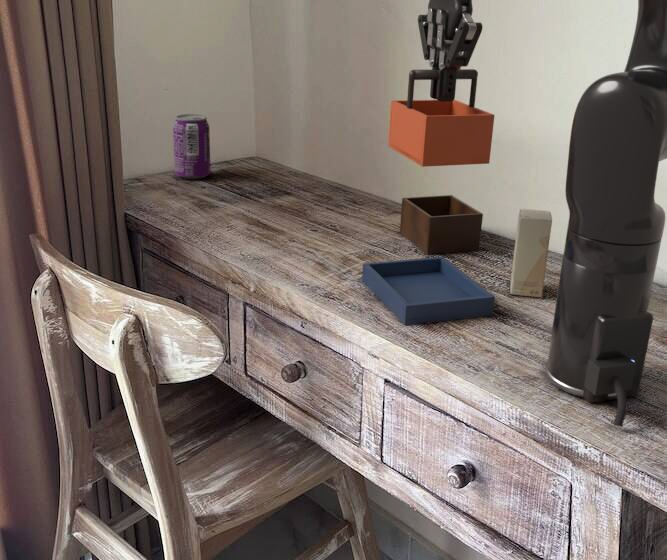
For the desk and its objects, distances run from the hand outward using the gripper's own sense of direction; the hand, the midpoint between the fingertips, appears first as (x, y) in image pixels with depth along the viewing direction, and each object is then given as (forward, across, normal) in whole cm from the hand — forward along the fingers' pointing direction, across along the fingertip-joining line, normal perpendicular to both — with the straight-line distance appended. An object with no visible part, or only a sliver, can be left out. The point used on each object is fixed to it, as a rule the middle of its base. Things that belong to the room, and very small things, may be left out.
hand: (442, 99), depth 101 cm
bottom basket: (+26, -21, +12) cm, 35 cm away
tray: (+26, 0, 0) cm, 26 cm away
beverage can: (+26, -69, -20) cm, 76 cm away
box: (+27, +1, +15) cm, 30 cm away
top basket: (+7, 0, 0) cm, 7 cm away
